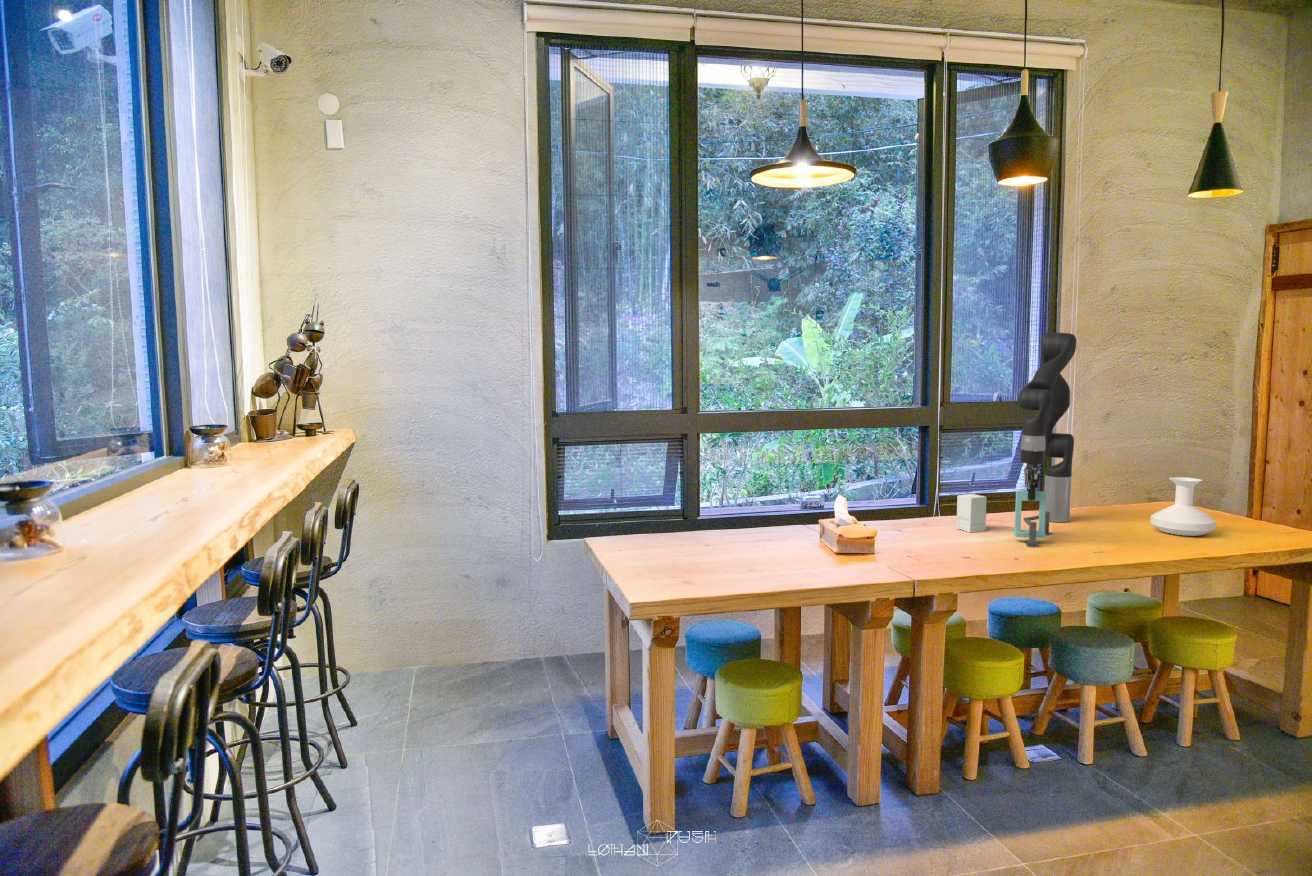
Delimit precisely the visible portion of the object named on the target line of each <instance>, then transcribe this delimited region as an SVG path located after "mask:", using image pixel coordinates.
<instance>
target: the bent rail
mask: <svg viewBox="0 0 1312 876" xmlns="http://www.w3.org/2000/svg"><path fill="white" fill-rule="evenodd" d="M1049 516H1050V512H1047V511H1045V531H1044V533H1045V536H1046V535H1047V536H1050V535H1049V534H1052V535H1053V532H1050V521H1049ZM1037 520H1039V514H1038V515H1033V516H1028V517H1023V522H1024V523H1025V524H1026V525H1027V526H1028V527H1029V530H1028V531H1029V538H1028V542H1025V543H1024V544H1025V546H1026V547H1027V548H1040V544H1038V543H1037V538H1036V531H1037V523H1038V522H1036V521H1037Z"/></svg>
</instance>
